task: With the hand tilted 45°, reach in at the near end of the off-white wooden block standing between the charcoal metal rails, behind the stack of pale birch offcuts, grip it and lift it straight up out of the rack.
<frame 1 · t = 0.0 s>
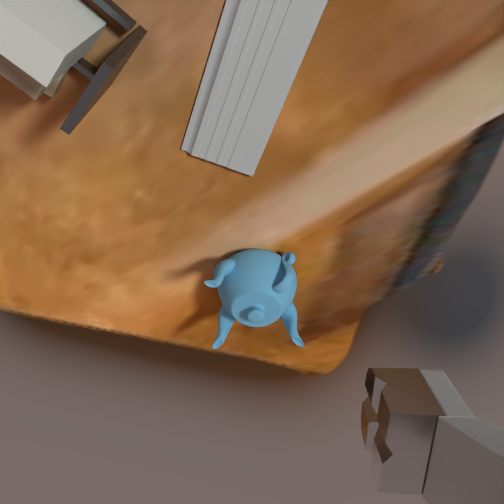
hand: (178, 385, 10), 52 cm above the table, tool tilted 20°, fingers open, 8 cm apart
offcut top: (14, 55, 53), point 3 cm above the table, touching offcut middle
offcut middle: (24, 54, 55), point 1 cm above the table, touching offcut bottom, offcut top
baseboard molding: (252, 47, 55), on the table
teapot: (252, 276, 77), on the table
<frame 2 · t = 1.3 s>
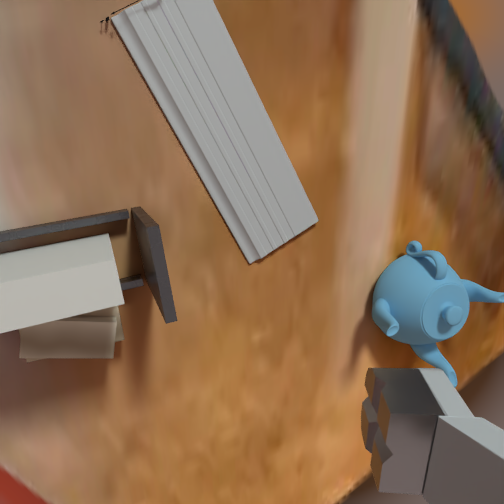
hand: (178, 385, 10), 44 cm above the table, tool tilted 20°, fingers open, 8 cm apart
off-white wooden block: (55, 261, 50), resting in rack
rack: (55, 261, 50), on the table
offcut top: (70, 332, 48), point 3 cm above the table, touching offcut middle
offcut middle: (73, 327, 50), point 1 cm above the table, touching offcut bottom, offcut top
baseboard molding: (218, 134, 54), on the table
teapot: (403, 299, 67), on the table
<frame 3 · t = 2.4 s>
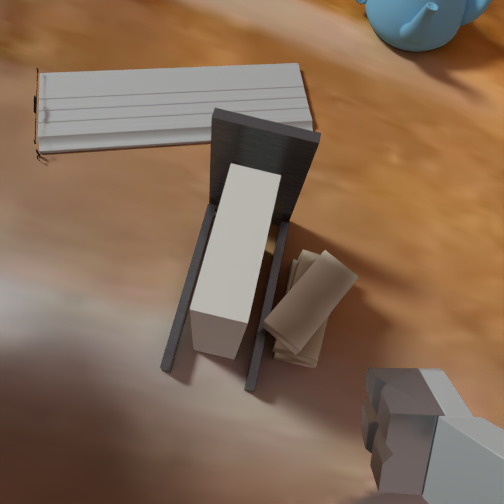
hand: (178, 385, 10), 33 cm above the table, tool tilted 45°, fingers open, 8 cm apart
off-white wooden block: (228, 296, 46), resting in rack
rack: (228, 295, 46), on the table
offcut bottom: (300, 315, 46), on the table, touching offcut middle
offcut top: (308, 304, 42), point 3 cm above the table, touching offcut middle
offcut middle: (305, 308, 44), point 1 cm above the table, touching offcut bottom, offcut top
baseboard molding: (179, 116, 55), on the table
teapot: (413, 27, 64), on the table
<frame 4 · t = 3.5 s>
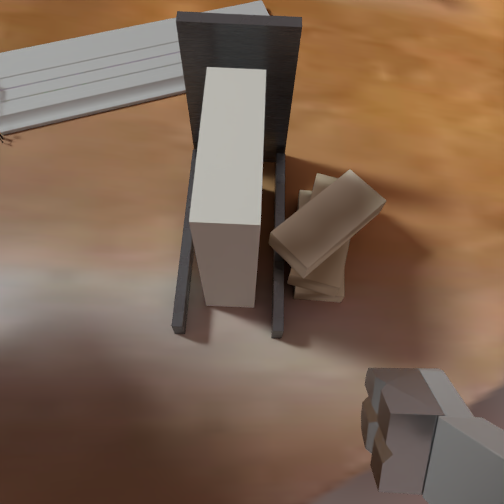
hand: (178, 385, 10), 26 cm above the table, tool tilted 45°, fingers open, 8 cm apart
off-white wooden block: (234, 242, 41), resting in rack
rack: (234, 242, 41), on the table
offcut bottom: (317, 250, 41), on the table, touching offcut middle
offcut top: (325, 228, 37), point 3 cm above the table, touching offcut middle
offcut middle: (323, 238, 39), point 1 cm above the table, touching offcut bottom, offcut top
baseboard molding: (146, 75, 50), on the table
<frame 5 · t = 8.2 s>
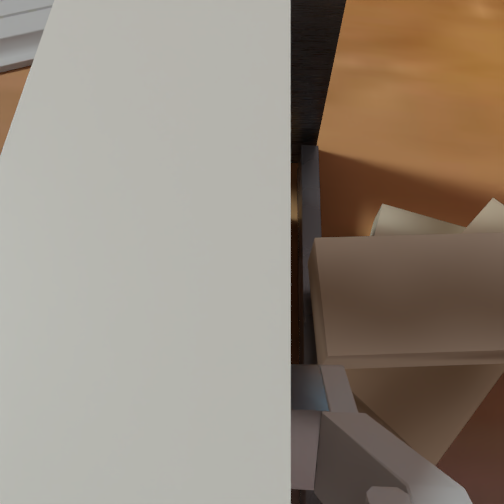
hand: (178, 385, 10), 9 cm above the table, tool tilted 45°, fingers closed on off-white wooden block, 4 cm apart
off-white wooden block: (217, 330, 20), resting in rack, touching gripper
rack: (216, 330, 20), on the table
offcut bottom: (391, 331, 20), on the table, touching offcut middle
offcut top: (437, 309, 16), point 3 cm above the table
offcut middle: (445, 330, 18), point 1 cm above the table, touching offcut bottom
baseboard molding: (74, 16, 30), on the table
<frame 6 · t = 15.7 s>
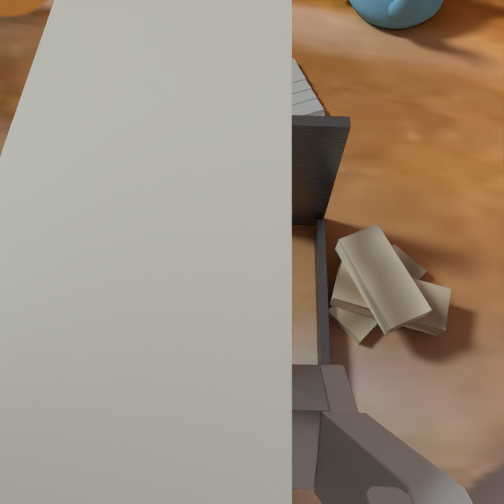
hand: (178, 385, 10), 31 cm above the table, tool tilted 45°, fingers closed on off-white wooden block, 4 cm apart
off-white wooden block: (216, 329, 20), point 22 cm above the table, touching gripper
rack: (279, 306, 44), on the table
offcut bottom: (373, 297, 45), on the table, touching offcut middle
offcut top: (377, 281, 41), point 3 cm above the table, touching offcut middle
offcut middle: (386, 300, 43), point 1 cm above the table, touching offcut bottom, offcut top
baseboard molding: (191, 136, 54), on the table
teapot: (397, 5, 63), on the table
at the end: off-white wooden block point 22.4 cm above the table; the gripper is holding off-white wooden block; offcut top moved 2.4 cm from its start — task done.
